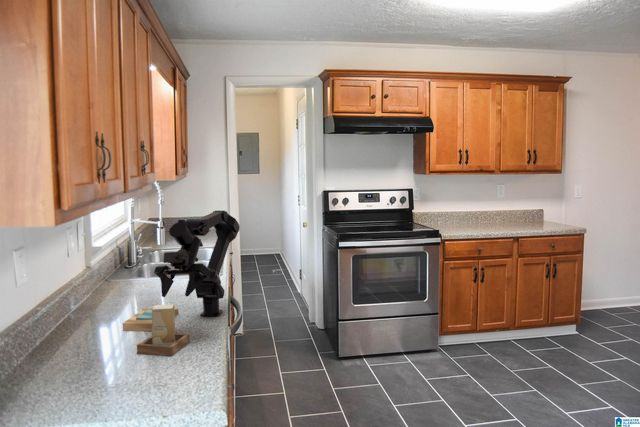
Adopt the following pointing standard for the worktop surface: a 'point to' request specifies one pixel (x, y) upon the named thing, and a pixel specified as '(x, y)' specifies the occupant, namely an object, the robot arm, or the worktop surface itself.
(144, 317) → the shallow wooden box
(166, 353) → the tray
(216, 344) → the worktop surface
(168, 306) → the skincare box
